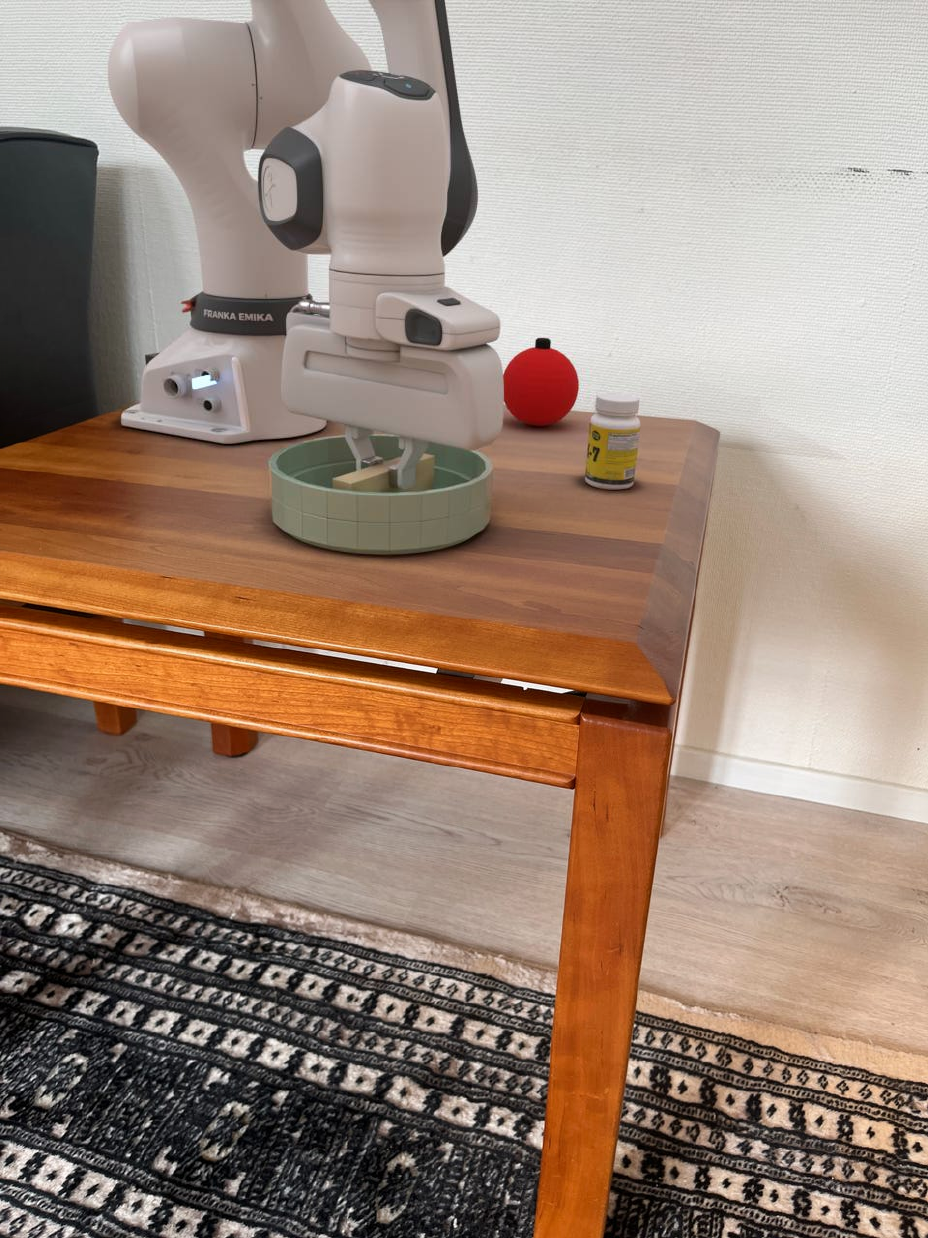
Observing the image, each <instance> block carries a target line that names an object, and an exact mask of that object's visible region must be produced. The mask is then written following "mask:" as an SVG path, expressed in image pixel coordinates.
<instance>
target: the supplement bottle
mask: <svg viewBox="0 0 928 1238" xmlns="http://www.w3.org/2000/svg"><path fill="white" fill-rule="evenodd" d="M639 406H640V398H639V397H638V396H637V395H634V394H630V393H624V392H616V391H614V392H613V391H608V392H607V391H605V392H599V393H597V394H596V397H595V404H594V410H595V412H596V413H594V414H593V415H592V416H591V418H590V420H589V431H588V439H587V440H588V441H587V449H586V450H587V451H586V459H585V460H586V461H585V471H584V473H585V474H584V480H585V483H587V484H588V485H590V486H592V487H594V488H597V489H602V490H613V491H614V490H625V489H630V488H631V487H632V486H634V483H635V475H636V469H637V468H636V467H637V459H638V451H639V442H640V433H641V420H640V418H638V417H637V416H636V415H637V414H638V413H639V409H640V408H639Z"/></svg>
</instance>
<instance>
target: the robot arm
mask: <svg viewBox="0 0 928 1238" xmlns="http://www.w3.org/2000/svg"><path fill="white" fill-rule="evenodd" d="M249 2H250V6H251V20H250V21H245V22H235V21H224V20H213V19H202V18H191V17H180V16H173V17H172V16H171V17H164V18H163V17H162V18H155V19H148V20H143V21H142V20H141V21H134V22H130V23H127V24H126V25H125V26H124V27H123V28H122V29H121V30H120V32H119V33H118V34H117V36H116V38H115V39H114V41H113V44H112V47H111V49H110V52H109V55H108V56H109V57H108V62H107V81H108V87H109V93H110V95H111V98H112V102H113V104H114V106H115V108H116V110H117V112H118V114H119V115H120V117H121V118H122V120H123V121H124V123H125V124H126V125H127V126H128V127H129V129H130V130H131V131H132V132H133V133H134V134H135V135H136V136H138V137H139V138H140V139H142V140H143V141H145V142H146V143H147V144H148V145H149V146H150V147H151V148H153V149H154V150H155V151H156V152H157V154H158V155H159V156H160V157H161V158H162V159H163V160H164V162H165V163H166V164H167V165H168V166H169V167H170V169H171V170H172V172H173V174H174V175H175V176H176V177H177V180H178V181H179V183H180V185H181V186H182V188H183V191H184V193H185V195H186V198H187V200H188V202H189V206H190V208H191V212H192V215H193V219H194V224H195V231H196V236H197V242H198V250H199V256H200V259H199V260H200V267H201V279H202V280H201V281H202V291H201V292H199V293H196V294H195V295H194V296H192V297H191V298H190V299H186V300H182V301H181V302H180V304H181V305H185V307H183V308H182V309H181V313H182V314H184V313H189V312H190V321H189V326H190V327H189V328H188V329H187V330H185V331H183V333H182V334H181V335H179V336H178V337H177V338H176V339H175V340H173V341H172V342H171V343H170V344H168V345H167V346H166V347H165V348H164V349H163V350H162V351H160V352H154V353H149V354H145V355H144V360H145V367H144V370H143V372H142V376H141V381H140V382H141V384H140V402H138V403H137V404H134V405H132V406H130V407H129V408H126V409H125V410H123V412H122V413H121V415H120V423H121V426H123V427H128V428H133V429H139V430H146V431H150V432H155V433H162V434H168V435H174V436H177V437H178V436H179V437H184V438H190V439H195V440H200V441H206V442H211V443H219V444H227V445H228V444H239V443H246V442H252V441H259V440H277V439H287V438H294V437H301V436H305V435H309V434H313V433H316V432H318V431H321V430H323V429H324V428H325V427H326V426H327V424H328V422H332V423H336V424H342V425H344V435H345V438H346V441H347V443H348V445H349V447H350V449H351V451H352V453H353V455H354V457H355V459H356V471H358V470H361V469H364V468H367V467H371V466H374V465H377V464H380V463H383V458H381V457H377V456H376V455H375V452H374V449H373V447H372V444H371V441H370V438H369V435H373V434H375V433H374V432H378V433H379V432H380V433H383V434H389V435H398V436H399V448H400V449H405V451H404V453H403V455H402V457H401V459H400V461H399V463H398V464H397V465H392V466H389V467H388V472H389V477H390V478H389V485H390V486H391V487H395V488H399V489H403V490H406V489H409V488H412V487H413V486H414V484H415V466H416V465H417V464H418V462H419V461H420V459H421V457H422V456H423V454H424V452H425V451H426V449H427V447H428V442H431V443H436V444H441V445H445V446H450V447H455V448H460V449H464V450H469V451H471V450H476V451H477V450H479V449H482V448H486V447H488V446H490V445H492V444H493V443H494V442H495V441H496V440H497V439H498V437H499V436H500V435H501V433H502V431H503V425H504V411H505V409H504V407H505V403H504V385H503V374H504V372H503V365H502V361H501V357H500V355H499V354H498V352H497V351H496V349H495V348H493V346H492V345H490V344H489V343H493V342H496V341H497V340H498V339H499V337H500V333H501V319H500V316H499V315H498V314H497V313H495V312H494V311H492V310H490V309H489V308H487V307H485V306H483V305H481V304H479V303H477V302H476V301H473V300H471V299H470V298H468V297H466V296H465V295H463V294H460V293H459V292H458V291H456V290H454V289H452V288H451V287H448V286H446V282H445V281H446V264H445V259H444V257H446V256H447V255H448V254H450V253H451V252H452V251H453V250H454V249H455V248H456V247H457V246H458V244H460V243H461V241H462V240H463V238H464V237H465V235H466V234H467V233H468V231H469V229H470V227H471V226H472V224H473V222H474V220H475V217H476V213H477V210H478V205H479V204H478V202H479V189H478V180H477V175H476V171H475V167H474V163H473V159H472V156H471V152H470V148H469V146H468V143H467V142H468V141H467V138H466V135H465V131H464V127H463V120H462V114H461V108H460V99H459V94H458V87H457V86H458V85H457V79H456V73H455V64H454V57H453V50H452V44H451V43H452V42H451V36H450V27H449V21H448V20H449V19H448V14H447V7H446V0H367V2H368V3H369V4H370V6H371V7H372V9H373V11H374V13H375V15H376V17H377V20H378V22H379V25H380V29H381V35H382V39H383V46H384V53H385V58H386V65H387V72H385V71H377V70H373V68H372V65H371V63H370V62H369V59H368V58H367V55H366V54H365V53H364V51H363V49H362V48H361V46H359V44H358V43H357V42H356V41H355V40H354V39H353V38H352V37H351V36H349V34H348V33H347V32H346V31H345V30H344V28H343V27H342V26H341V25H340V22H338V20H337V19H336V17H335V16H334V14H333V13H332V11H331V9H330V7H329V5H328V3H327V1H326V0H249ZM251 150H261V151H263V150H264V151H263V153H262V154H261V156H260V158H259V162H258V168H257V169H258V170H257V171H258V172H257V180H256V179H254V178H253V177H252V175H251V174H250V172H249V169H248V167H247V165H246V161H245V154H244V152H246V151H251ZM308 255H316V256H317V255H318V256H319V255H320V256H321V255H326V256H327V255H329V256H330V259H329V264H328V301H323V302H322V301H321V302H320V301H316V300H314V299H313V297H314V296H313V295H312V294H311V293H310V291H309V264H308V263H309V256H308ZM327 421H328V422H327Z"/></svg>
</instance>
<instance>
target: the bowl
mask: <svg viewBox="0 0 928 1238" xmlns="http://www.w3.org/2000/svg"><path fill="white" fill-rule="evenodd" d="M369 438H370V441H371V444H372V447H373V449H374V452H375V455H376V456H377V457H381V458H383V462H386V461H389V460H392V459H395V458H399V457H402V455H403V453H404V451H405V449H400V448H399V436H398V435H393V434H388V433H374V434H373V435H369ZM424 454H429V455H433V456H435V458H434V489H432V490H427V491H420V492H399V493H377V492H356V491H347V490H339V489H333V478H336V477H339V476H342V475H346V474H349V473H352V472H355V471H356V459H355V457H354V455H353V453H352V451H351V449H350V447H349V445H348V443H347V441H346V438H345V434H343V435H333V436H323V437H318V438H313V439H308V440H307V439H306V440H302V441H300V442H296V443H293V444H290V445H287V446H284V447H282V448H281V449H279V450H277V451H276V452H274V453H273V454H272V455H271V457H270V459H269V460H268V461H267V463H268V464H267V465H268V487H269V509H270V510H269V511H270V512H269V513H270V516H271V519H272V523H274V524H275V525H276V526H277V527H278V528H279V529H281V530H282V531H283V532H285V533H287V534H288V535H290V536H291V537H292V538H294V539H296V540H299V541H301V542H303V543H306V544H308V545H311V546H315V547H318V548H321V549H327V550H331V551H336V552H342V553H350V554H358V555H359V554H360V555H381V556H385V555H388V556H389V555H390V556H391V555H409V554H419V553H426V552H432V551H437V550H443V549H446V548H450V547H453V546H456V545H458V544H462V543H463V542H466V541H468V540H470V539H471V538H472V537H474V536H475V535H476V534H478V533H480V532H482V531H483V530H485V528H486V527H487V526H488V524H489V523H490V521H491V517H492V516H491V515H492V500H493V499H492V496H493V495H492V494H493V479H494V467H493V462H492V460H491V459H489V457H488V456H486V454H485V453H482V452H480V451H478V450H477V449H476V450H471V451H469V450H464V449H460V448H455V447H450V446H445V445H441V444H436V443H431V442H428V447H427V449H426V451H425V452H424Z"/></svg>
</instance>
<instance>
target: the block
mask: <svg viewBox="0 0 928 1238" xmlns="http://www.w3.org/2000/svg"><path fill="white" fill-rule="evenodd" d="M434 458H435V456H433V455H429V454H423V456H422V457H421V459H420V461H419V462H418V464H417V465H416V466H415V484H414V486H413V487H412V488H409V489H406V490H403V489H399V488H395V487H391V486H390V485H389V478H390V477H389V472H388V467H389V466H392V465H397V464H398V463H399V461H400V459H401V457H399V458H395V459H392V460H389V461H386V462H383V463H380V464H377V465H374V466H371V467H367V468H364V469H361V470H358V471H355V472H352V473H349V474H346V475H342V476H339V477H336V478H333V489H339V490H347V491H356V492H377V493H399V492H420V491H427V490H432V489H434Z"/></svg>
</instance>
